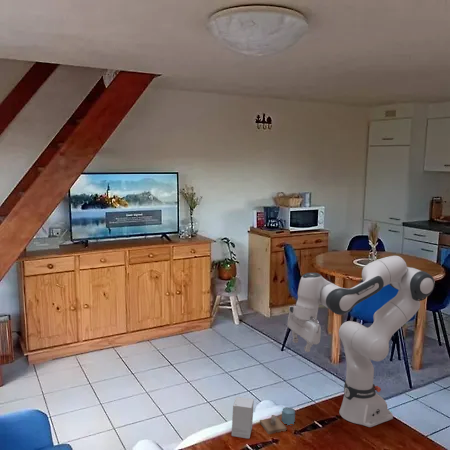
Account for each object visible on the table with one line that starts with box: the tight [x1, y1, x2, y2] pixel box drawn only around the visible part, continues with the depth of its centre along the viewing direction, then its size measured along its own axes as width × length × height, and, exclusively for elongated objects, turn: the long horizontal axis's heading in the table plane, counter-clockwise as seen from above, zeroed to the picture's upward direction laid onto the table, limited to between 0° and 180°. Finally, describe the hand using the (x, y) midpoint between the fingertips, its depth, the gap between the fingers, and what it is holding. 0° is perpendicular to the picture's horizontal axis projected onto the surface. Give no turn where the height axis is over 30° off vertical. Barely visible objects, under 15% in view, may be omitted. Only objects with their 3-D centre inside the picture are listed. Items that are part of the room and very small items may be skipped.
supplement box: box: [231, 396, 255, 439], centre depth 176 cm, size 7×7×13 cm
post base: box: [259, 414, 288, 435], centre depth 181 cm, size 8×8×4 cm
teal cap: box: [280, 406, 296, 426], centre depth 185 cm, size 5×5×5 cm
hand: (300, 346), depth 180 cm, fingers open, 8 cm apart
